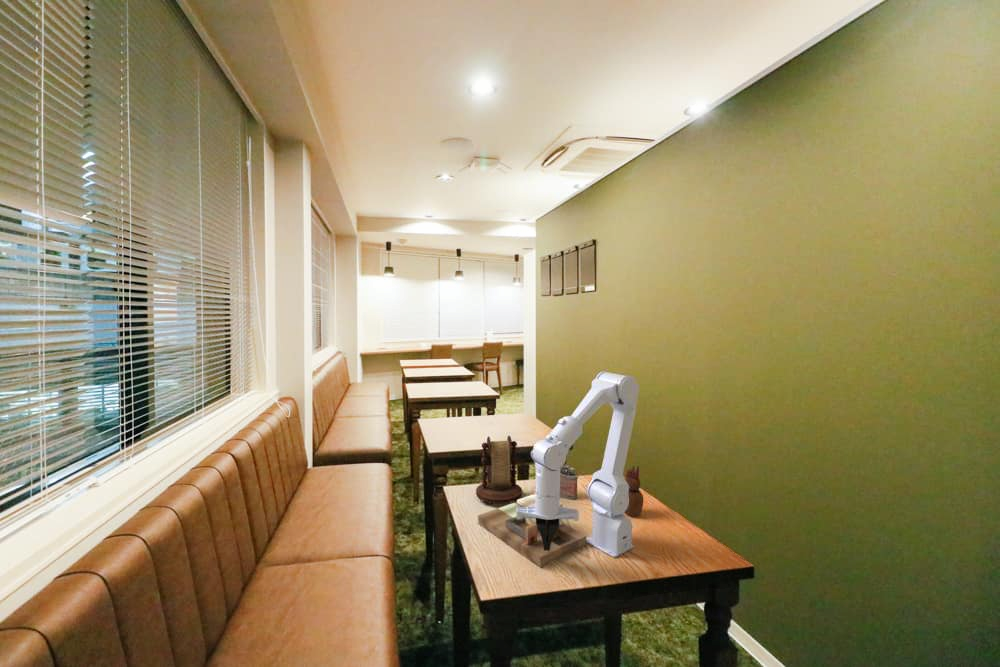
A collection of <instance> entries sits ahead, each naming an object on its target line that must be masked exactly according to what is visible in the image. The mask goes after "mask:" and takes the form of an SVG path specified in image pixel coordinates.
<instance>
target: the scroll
mask: <svg viewBox="0 0 1000 667" xmlns="http://www.w3.org/2000/svg"><path fill="white" fill-rule="evenodd" d="M517 446H518V443H517V441H515V440H513V441H512V437H511V436H510V435H508V436H507V440H494V441H491V438H490V436H489V435H488V436H487V438H486V442H483V443H481V448H482V453H481V454H482V455H481V456H482V457H481V465H482V467H481V468H482V469H481V470H482V472H481V479H482V482H481V483H480V484H479V485H477V487H476V489H475V494H476V497H477V498H478V499H479V500H480V501H483V502H485V503H484V504H485V506H488V505H489V503H491V504H509V503H515V502H517V500H518V499H521V497H522V496H523V489H522V487H521V486H520V485H519V484H517V479H516V477H517V476H516V475H517V473H518V472H517V470H516V468H517V466H516V464H517V461H518V458H517V451H516V449H517ZM488 455H489V456H490V457H488ZM488 463H491V466H490V464H488Z"/></svg>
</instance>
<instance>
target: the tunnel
mask: <svg viewBox="0 0 1000 667" xmlns="http://www.w3.org/2000/svg"><path fill="white" fill-rule="evenodd" d="M530 506H535V493H533V494H531V495H527V496H524V497H522V498H521V497H520V498H519V499H518V500H517V502H515V501H514V502H511V503H510V504H509V503H508V504H506V505H504V506H500V507H498V508H496V509H492V510H490V511H486V512H484V513H481V514H478V515H477V525H479V526H480V527H482V528H484V529H485V530H486V531H487V532H489V533H490V534H491V535H493V536H494V537H496V538H497V539H499V540H500V541H501V542H503V543H504V544H505V545H507V546H509V547H510V548H511V549H513V550H514V551H516V552H517V553H518V554H520V555H521V556H522V557H524V558H525V559H527V560H528V561H529V562H531V563H533V564H534V565H536V567H538V568H539V569H541V568H543V567H545V566H547V565H549V564H551V563H553V562H555V561H557V560H559V559H561V558H563V557H565V556H567V555H570V554H572V553H573V552H576V551H577V550H579V549H582V548H584V547H586V546H587V542H586V539H587V535H586V534H584V533H582V532H580V531H578V530H576V529H575V528H573V527H571V526H569V525H568V524H565V523H564V522H563V519H559V527H558V529H557V531H556V533H555V535H554V537H553V539H552V542H551V546H550V550H549V551H547V550H544V548H543V541H542V537H541V534H540V532H539V530H537V541H535V542H532V543H530V544H527V543H525V539H524V538H522V537H521V536H519V535H518V534H516V533H515V532H513V531H512V530H510V529H509V528H507V527H506V526H505V521H506V520H509V519H511V518H514V517H516V508H523V507H530ZM559 507H564V505H563V503H562V502H560V505H559ZM516 525H518V526H519V527H521V528H524V527H526V526H529V524H527V523H525V521H523V522H520V523H518V524H516ZM546 538H547V537H546Z"/></svg>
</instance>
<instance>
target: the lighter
mask: <svg viewBox="0 0 1000 667" xmlns="http://www.w3.org/2000/svg"><path fill="white" fill-rule="evenodd" d="M578 478H579V475H578V474H576V473H575V468H574V467H570V465H565V464H564V465H562V466H561V467H560V498H562V499H566V500H570V501H571V500H572V501H577V500H578V498H579V497H578Z"/></svg>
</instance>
